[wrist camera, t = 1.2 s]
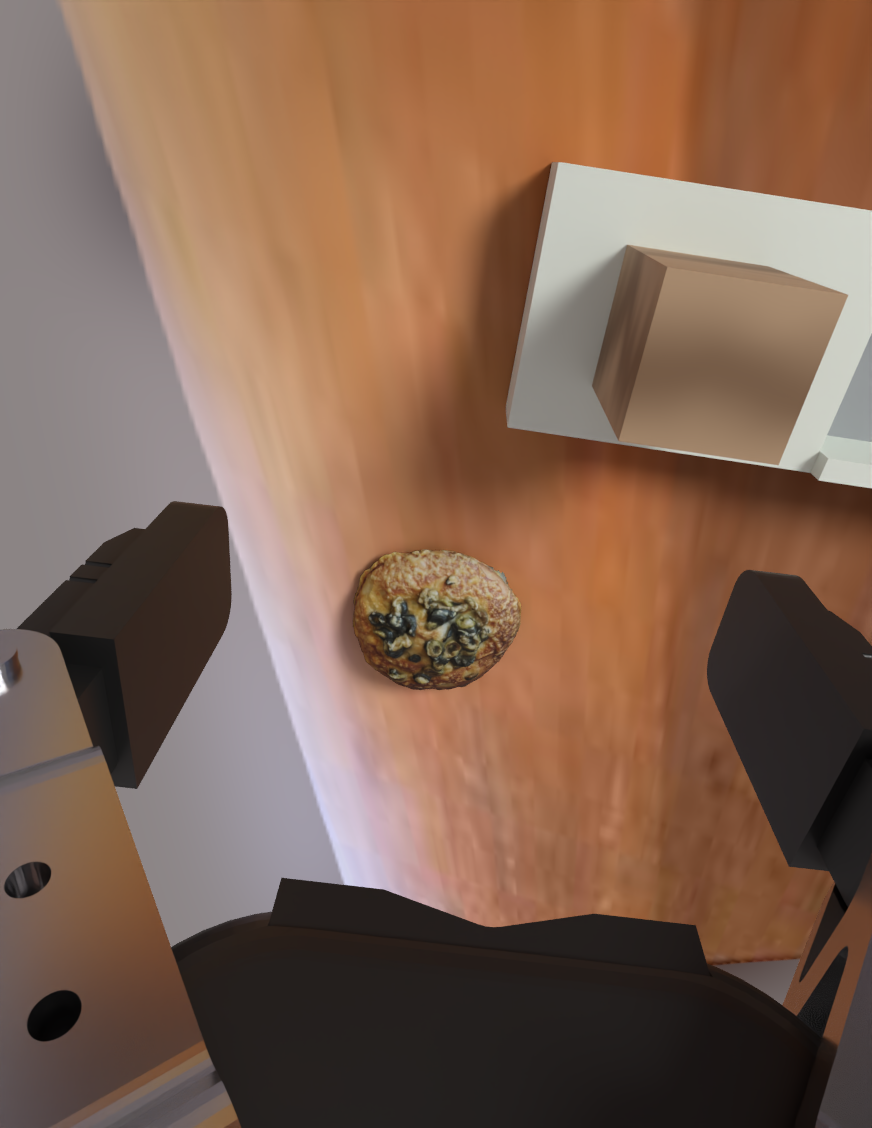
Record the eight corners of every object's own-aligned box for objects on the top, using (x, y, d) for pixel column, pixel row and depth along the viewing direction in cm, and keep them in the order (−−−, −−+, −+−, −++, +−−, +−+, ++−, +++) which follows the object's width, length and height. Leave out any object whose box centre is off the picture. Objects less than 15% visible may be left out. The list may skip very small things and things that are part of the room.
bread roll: (409, 700, 50) (399, 743, 46) (325, 576, 47) (305, 607, 42) (548, 638, 47) (552, 676, 43) (468, 500, 44) (463, 525, 40)
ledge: (551, 162, 33) (558, 162, 30) (882, 213, 33) (921, 218, 30) (505, 407, 39) (507, 427, 36) (785, 449, 39) (810, 472, 36)
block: (627, 244, 31) (667, 267, 24) (768, 266, 31) (848, 294, 24) (591, 385, 35) (618, 441, 28) (719, 405, 35) (778, 465, 28)
